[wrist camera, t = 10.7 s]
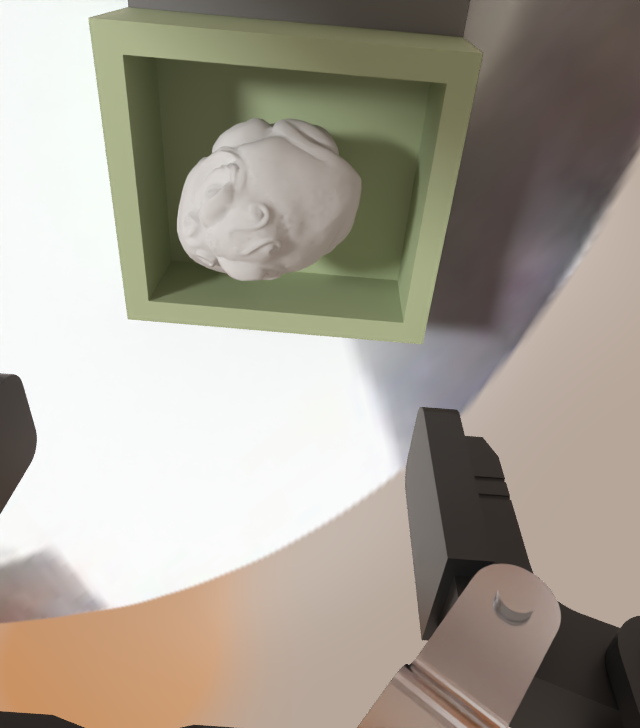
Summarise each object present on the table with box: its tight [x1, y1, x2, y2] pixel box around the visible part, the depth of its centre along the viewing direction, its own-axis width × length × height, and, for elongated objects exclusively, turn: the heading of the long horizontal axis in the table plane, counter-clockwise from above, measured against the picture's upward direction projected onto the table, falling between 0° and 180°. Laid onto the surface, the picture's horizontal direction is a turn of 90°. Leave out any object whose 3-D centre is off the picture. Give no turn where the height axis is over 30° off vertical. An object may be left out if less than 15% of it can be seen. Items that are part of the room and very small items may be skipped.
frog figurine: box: [177, 118, 361, 281], centre depth 23 cm, size 6×7×7 cm
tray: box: [89, 0, 483, 344], centre depth 24 cm, size 14×13×5 cm
